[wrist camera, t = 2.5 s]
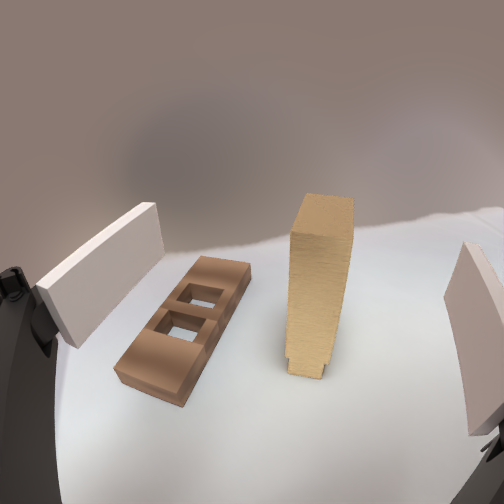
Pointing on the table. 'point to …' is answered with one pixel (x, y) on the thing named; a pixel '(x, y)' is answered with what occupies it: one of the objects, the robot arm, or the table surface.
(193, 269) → the slotted wooden base
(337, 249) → the tall wooden block
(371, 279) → the table surface
